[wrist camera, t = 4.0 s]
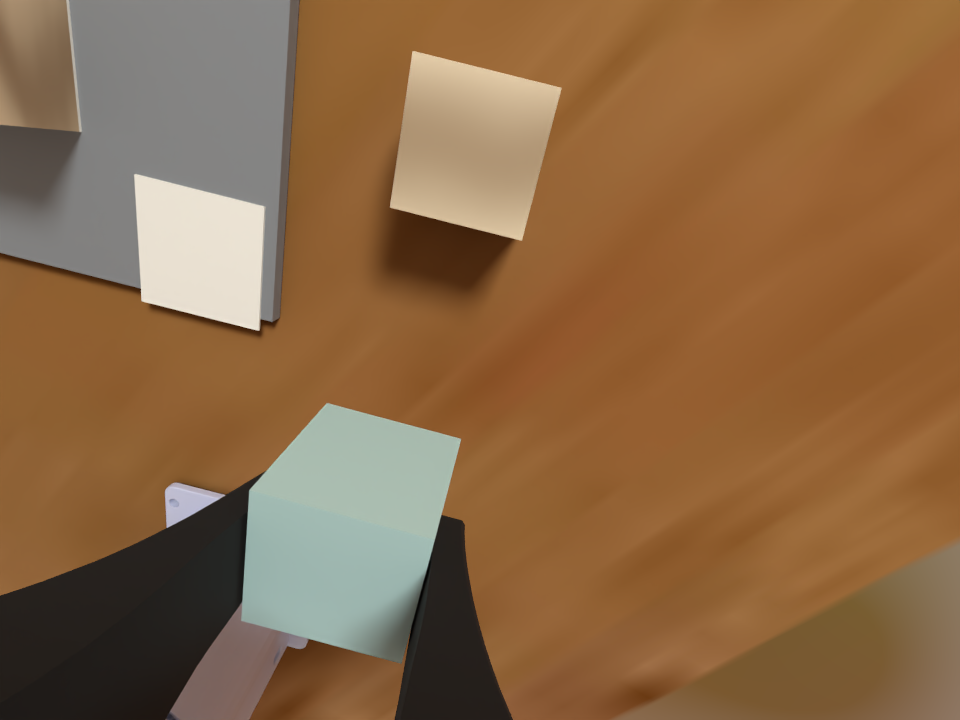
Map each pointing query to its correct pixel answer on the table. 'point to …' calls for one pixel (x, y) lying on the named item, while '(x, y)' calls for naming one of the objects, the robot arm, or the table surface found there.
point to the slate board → (165, 156)
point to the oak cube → (36, 66)
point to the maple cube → (471, 145)
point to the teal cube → (346, 531)
